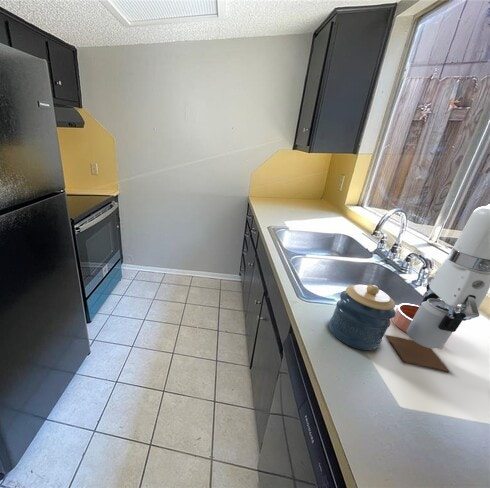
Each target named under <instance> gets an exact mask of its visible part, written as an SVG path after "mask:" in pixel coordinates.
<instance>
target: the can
mask: <svg viewBox="0 0 490 488" xmlns="http://www.w3.org/2000/svg"><path fill="white" fill-rule="evenodd" d="M421 303H422V304H421ZM421 303H420V305H419V306H420V307H419V309H418V311H417V313H416V314H415V316H414V318H413V320H412V321H411V323H410V325H409V327H408V329H407V330H406V331H407V333H406V334H407V335H408V337H409V338H410V340H412V341H414V342H416V343H417V344H419V345H422V346H424V347H427V348H431V350H433V349H442V348H443V347H445V344H446V343H447V341H448V340H449V338H450V337H451V335H452V334H453V332H450V331H445V330H440V329H439V328H438V326H439V324H440V323H441V321H442V320H443V318H444V316H445V315H447V316H448V313H449V305H448V304H447V303H445V302H444V301H443V300H442V299H441V298H438V299H435V298H430V299H428V300H427V301H424V302H422V301H421ZM455 313H460V309H456V312H455Z"/></svg>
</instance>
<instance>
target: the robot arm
mask: <svg viewBox="0 0 490 488" xmlns="http://www.w3.org/2000/svg"><path fill="white" fill-rule="evenodd" d="M426 279H427V280H426V284H427V285H426V286H425V287H426V291H425V292H424V297H423V299H422V301H421V302H420V305H421V304H422V302H424V301H427V300H428V299H430V298H435V299H440V300H443V301H444V302H445V303H447V304H448V305H449V313H448V316H447V315H445V316H444V318H443V320H442V321H441V323H440V324H439V326H438V328H439V329H440V330H445V331H450V332H452V333H454V332H455V333H456V331H457V330H458V328H459V327H460V325H461V323H462V322H465V321H468V320H472V319H476V318H478V317H480V312H479V308H480V306H481V305H482V304H483V301H484V300H485V298H486V296H487V294H488V292H489V290H490V203H489V204H488V205H486V206H480V207H477V208H475V209H474V210H473V211H472V213H471V215H470V216H469V218H468V220H467V221H466V223H465V225H464V227H463V229H462V230H461V232H460V234H459V236H458V238H457V240H456V241H455V243H454V245H453V247H452V248H451V250H450V252H449V254H448V255H447V258H445V260H444V261H443V262H442V263H441V264H440V266H439V267H438V268H437V270H436V272H435V273H434V274H433V276H429V277H427V278H426ZM420 305H418V306H419V307H420ZM456 309H460V313H455V312H456Z"/></svg>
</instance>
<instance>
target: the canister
mask: <svg viewBox="0 0 490 488" xmlns="http://www.w3.org/2000/svg"><path fill="white" fill-rule="evenodd" d="M339 298H340V299H339V300H337V302H336V305H335V309H334V311H333V313H332V315H331V317H330V318H329V321H328V322H329V323H328V324H329V325H328V327H329V331H330V332H331V334H332V335H333V336H334V337H335V338H336V339H337V340H339V341H340V342H342V343H343V344H345V345H347V346H349V347H351V348H355V349H358V350H361V351H374V350H376V349H377V348H378V347H379V346H380V345H381V343H382V342H383V338H384V336H385V334H386V332H387V330H388V328H389V327H390V326H391V323H392V321H391V320H392V318H393V317H395V315H396V312H395V311H396V309H395V307H396V303H395V301H394V300H393V299H392V298H391V297H390V295H389V294H387V292H385V291H383V290H381V289H379V287H378V286H377V285H375V284H369V285H367V284H351V285H348V286H347V287H345V290H343V291H341V292H340V293H339Z"/></svg>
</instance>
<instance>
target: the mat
mask: <svg viewBox="0 0 490 488" xmlns="http://www.w3.org/2000/svg"><path fill="white" fill-rule="evenodd" d="M386 338H387V340H388V341H389V343H390V344H391V346H392V347H393V348H394V350H395V351H396V353H397V355H398V356H399V357H400V359H401V360H402V362H403V363H407V364H411V365H415V366H420V367H425V368H428V369H433V370H437V371H441V372H445V373H450V370H449V369H448V367H446V365H445V363H444V362H442V360H441V359H440V358H439V357H438V356H437V354H436V353H435V352H434V351H433V349H431V348H427V347H424V346H422V345H419V344H417V343H416V342H414V341H413V340H412V339H407V338H402V337H397V336H393V335H388V334H386Z"/></svg>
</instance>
